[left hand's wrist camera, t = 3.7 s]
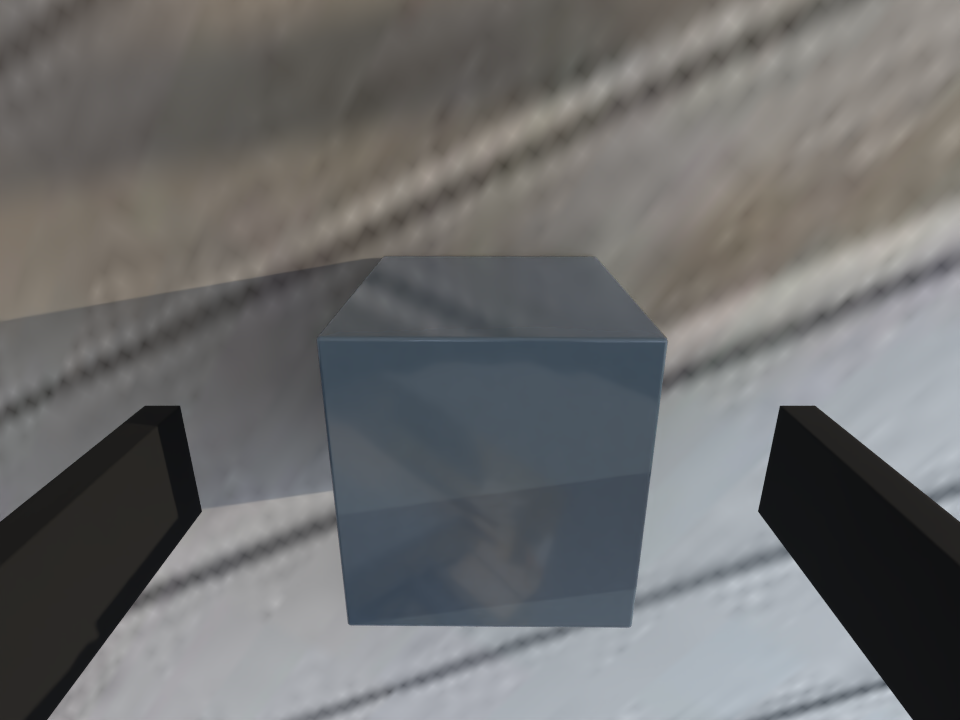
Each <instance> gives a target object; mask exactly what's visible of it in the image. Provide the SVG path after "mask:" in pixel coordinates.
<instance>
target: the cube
mask: <svg viewBox="0 0 960 720" xmlns="http://www.w3.org/2000/svg"><path fill="white" fill-rule="evenodd" d="M667 343H668V341H667V338H666V337H665V336H664V335H663V333H662V332H661V331H660V330H659V329H658V328H657V327H656V325H655V324H654V323H653V322H652V321H651V320H650V318H649V317H648V316H647V315H646V314H645V313H644V312H643V310H642V309H641V308H640V307H639V306H638V305H637V304H636V302H635V301H634V300H633V299H632V298H631V297H630V296H629V294H628V293H627V292H626V291H625V290H624V289H623V287H622V286H621V285H620V284H619V283H618V282H617V281H616V279H615V278H614V277H613V276H612V275H611V274H610V273H609V271H608V270H607V269H606V268H605V267H604V266H603V265H602V263H601V262H600V261H599V260H598V259H597V258H596V257H559V256H384V257H383V258H382V259H381V260H380V261H379V263H378V264H377V265H376V266H375V268H374V269H373V270H372V271H371V272H370V274H369V275H368V276H367V277H366V279H365V280H364V281H363V282H362V283H361V285H360V286H359V287H358V288H357V290H356V291H355V292H354V293H353V294H352V296H351V297H350V298H349V299H348V301H347V302H346V303H345V304H344V305H343V307H342V308H341V309H340V310H339V312H338V313H337V314H336V315H335V316H334V318H333V319H332V320H331V321H330V323H329V324H328V325H327V326H326V327H325V329H324V330H323V331H322V332H321V334H320V335H319V336H318V337H317V349H318V358H319V367H320V376H321V385H322V394H323V403H324V412H325V421H326V430H327V439H328V448H329V457H330V466H331V475H332V484H333V493H334V502H335V511H336V520H337V529H338V538H339V547H340V556H341V565H342V574H343V583H344V592H345V601H346V610H347V620H348V624H349V625H370V626H497V627H624V628H629V627H631V625H632V618H633V610H634V602H635V594H636V587H637V579H638V571H639V563H640V555H641V547H642V539H643V532H644V524H645V516H646V508H647V500H648V492H649V484H650V477H651V469H652V461H653V453H654V445H655V437H656V429H657V421H658V414H659V406H660V398H661V390H662V382H663V374H664V366H665V359H666V351H667Z"/></svg>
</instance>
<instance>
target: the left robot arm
mask: <svg viewBox="0 0 960 720" xmlns="http://www.w3.org/2000/svg"><path fill="white" fill-rule="evenodd" d="M201 512H202V510H201V505H200V500H199V495H198V491H197V486H196V481H195V476H194V471H193V466H192V462H191V457H190V452H189V447H188V442H187V437H186V433H185V428H184V423H183V418H182V413H181V408H180V406H144V407H143V408H142V409H140V410H139V411H138V412H137V413H135V414H134V415H133V416H132V417H130V418H129V419H128V420H127V421H125V422H124V423H123V424H122V425H120V426H119V427H118V428H117V429H115V430H114V431H113V432H112V433H110V434H109V435H108V436H107V437H105V438H104V439H103V440H102V441H100V442H99V443H98V444H97V445H95V446H94V447H93V448H92V449H90V450H89V451H88V452H87V453H86V454H84V455H83V456H82V457H81V458H79V459H78V460H77V461H76V462H74V463H73V464H72V465H71V466H69V467H68V468H67V469H66V470H64V471H63V472H62V473H61V474H59V475H58V476H57V477H56V478H54V479H53V480H52V481H51V482H49V483H48V484H47V485H46V486H44V487H43V488H42V489H41V490H39V491H38V492H37V493H36V494H34V495H33V496H32V497H31V498H29V499H28V500H27V501H26V502H24V503H23V504H22V505H21V506H19V507H18V508H17V509H16V510H14V511H13V512H12V513H11V514H9V515H8V516H7V517H6V518H4V519H3V520H2V521H1V522H0V720H47V719H48V718H49V717H50V715H51V714H52V713H53V711H54V710H55V708H56V707H57V706H58V704H59V703H60V702H61V700H62V699H63V698H64V696H65V695H66V694H67V692H68V691H69V690H70V688H71V687H72V686H73V684H74V683H75V682H76V680H77V679H78V678H79V676H80V675H81V673H82V672H83V671H84V669H85V668H86V667H87V665H88V664H89V663H90V661H91V660H92V659H93V657H94V656H95V655H96V653H97V652H98V651H99V649H100V648H101V647H102V645H103V644H104V643H105V641H106V640H107V638H108V637H109V636H110V634H111V633H112V632H113V630H114V629H115V628H116V626H117V625H118V624H119V622H120V621H121V620H122V618H123V617H124V616H125V614H126V613H127V612H128V610H129V609H130V608H131V606H132V605H133V603H134V602H135V601H136V599H137V598H138V597H139V595H140V594H141V593H142V591H143V590H144V589H145V587H146V586H147V585H148V583H149V582H150V581H151V579H152V578H153V577H154V575H155V574H156V573H157V571H158V570H159V568H160V567H161V566H162V564H163V563H164V562H165V560H166V559H167V558H168V556H169V555H170V554H171V552H172V551H173V550H174V548H175V547H176V546H177V544H178V543H179V542H180V540H181V539H182V538H183V536H184V535H185V533H186V532H187V531H188V529H189V528H190V527H191V525H192V524H193V523H194V521H195V520H196V519H197V517H198V516H199V515H200V513H201ZM758 512H759V513H760V515H761V516H762V517H763V519H764V520H765V521H766V523H767V524H768V525H769V527H770V528H771V529H772V531H773V532H774V533H775V535H776V536H777V538H778V539H779V540H780V542H781V543H782V544H783V546H784V547H785V548H786V550H787V551H788V552H789V554H790V555H791V556H792V558H793V559H794V560H795V562H796V563H797V564H798V566H799V567H800V568H801V570H802V571H803V573H804V574H805V575H806V577H807V578H808V579H809V581H810V582H811V583H812V585H813V586H814V587H815V589H816V590H817V591H818V593H819V594H820V595H821V597H822V598H823V599H824V601H825V602H826V603H827V605H828V606H829V608H830V609H831V610H832V612H833V613H834V614H835V616H836V617H837V618H838V620H839V621H840V622H841V624H842V625H843V626H844V628H845V629H846V630H847V632H848V633H849V634H850V636H851V637H852V638H853V640H854V641H855V643H856V644H857V645H858V647H859V648H860V649H861V651H862V652H863V653H864V655H865V656H866V657H867V659H868V660H869V661H870V663H871V664H872V665H873V667H874V668H875V669H876V671H877V672H878V673H879V675H880V676H881V678H882V679H883V680H884V682H885V683H886V684H887V686H888V687H889V688H890V690H891V691H892V692H893V694H894V695H895V696H896V698H897V699H898V700H899V702H900V703H901V704H902V706H903V707H904V708H905V710H906V711H907V713H908V714H909V715H910V717H911V718H912V719H913V720H960V522H959V521H958V520H957V519H956V518H954V517H953V516H952V515H951V514H949V513H948V512H947V511H946V510H944V509H943V508H942V507H941V506H939V505H938V504H937V503H936V502H934V501H933V500H932V499H931V498H929V497H928V496H927V495H926V494H924V493H923V492H922V491H921V490H919V489H918V488H917V487H916V486H914V485H913V484H912V483H911V482H909V481H908V480H907V479H906V478H904V477H903V476H902V475H901V474H899V473H898V472H897V471H896V470H894V469H893V468H892V467H891V466H889V465H888V464H887V463H886V462H884V461H883V460H882V459H881V458H879V457H878V456H877V455H876V454H874V453H873V452H872V451H871V450H870V449H868V448H867V447H866V446H865V445H863V444H862V443H861V442H860V441H858V440H857V439H856V438H855V437H853V436H852V435H851V434H850V433H848V432H847V431H846V430H845V429H843V428H842V427H841V426H840V425H838V424H837V423H836V422H835V421H833V420H832V419H831V418H830V417H828V416H827V415H826V414H825V413H823V412H822V411H821V410H820V409H818V408H817V407H816V406H780V408H779V413H778V418H777V423H776V428H775V433H774V437H773V442H772V447H771V452H770V457H769V462H768V466H767V471H766V476H765V481H764V486H763V491H762V495H761V500H760V505H759V510H758Z"/></svg>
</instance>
